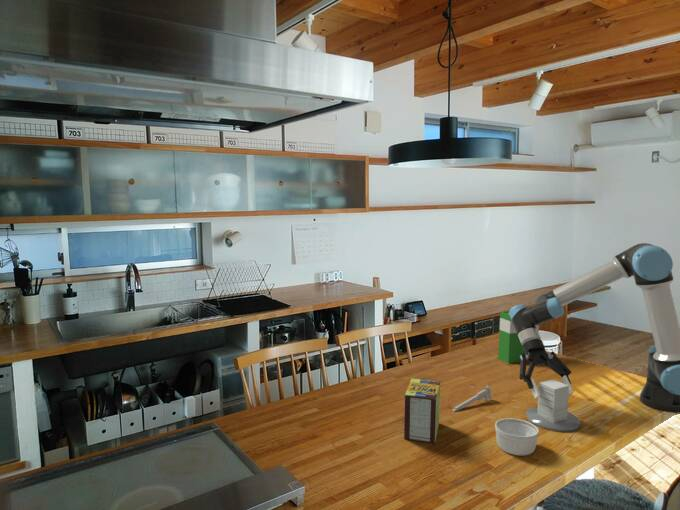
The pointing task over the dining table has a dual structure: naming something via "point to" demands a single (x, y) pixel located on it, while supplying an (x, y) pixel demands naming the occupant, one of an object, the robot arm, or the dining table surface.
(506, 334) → the green white box
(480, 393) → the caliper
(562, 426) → the disc
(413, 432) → the protein box
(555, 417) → the supplement box
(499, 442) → the ramekin
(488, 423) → the dining table surface
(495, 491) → the dining table surface
